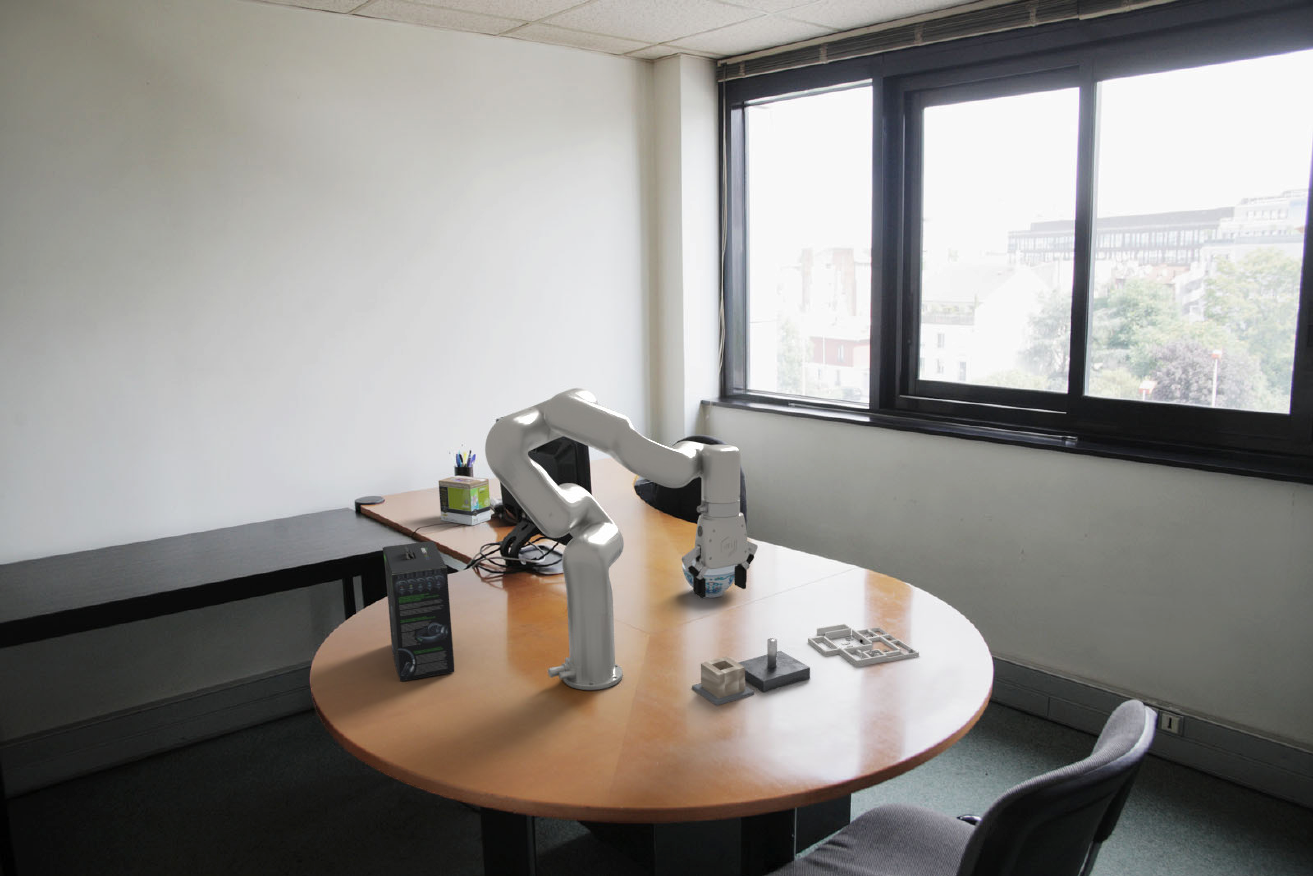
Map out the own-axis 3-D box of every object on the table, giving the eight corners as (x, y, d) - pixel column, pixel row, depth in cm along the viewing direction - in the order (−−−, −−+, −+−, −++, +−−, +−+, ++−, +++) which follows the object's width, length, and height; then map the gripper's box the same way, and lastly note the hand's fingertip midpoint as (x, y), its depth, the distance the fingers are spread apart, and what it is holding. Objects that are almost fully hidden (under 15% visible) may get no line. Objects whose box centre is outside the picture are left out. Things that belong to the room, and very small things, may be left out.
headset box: (389, 644, 213) (381, 537, 208) (442, 635, 217) (434, 531, 212) (398, 683, 192) (389, 566, 188) (456, 673, 196) (448, 558, 192)
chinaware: (747, 587, 245) (747, 560, 244) (727, 606, 232) (727, 577, 230) (695, 580, 251) (695, 553, 250) (673, 598, 238) (673, 570, 237)
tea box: (492, 519, 319) (489, 478, 316) (471, 526, 310) (469, 484, 308) (460, 514, 327) (457, 474, 324) (440, 521, 318) (437, 479, 316)
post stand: (763, 692, 184) (763, 655, 183) (735, 674, 193) (734, 638, 191) (809, 678, 190) (810, 642, 189) (780, 661, 199) (780, 626, 197)
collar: (718, 698, 181) (718, 674, 180) (701, 686, 186) (700, 663, 185) (745, 690, 184) (744, 667, 183) (726, 678, 190) (726, 656, 189)
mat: (716, 705, 179) (716, 702, 179) (692, 688, 187) (692, 685, 187) (753, 694, 184) (753, 691, 184) (728, 677, 191) (728, 675, 191)
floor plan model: (777, 642, 210) (777, 634, 209) (872, 627, 217) (872, 619, 217) (817, 676, 192) (817, 667, 192) (918, 657, 200) (919, 649, 200)
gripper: (693, 519, 171) (693, 605, 174) (767, 506, 179) (766, 589, 183) (672, 510, 177) (673, 593, 180) (745, 498, 186) (744, 578, 189)
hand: (720, 591), depth 182 cm, fingers open, 9 cm apart
